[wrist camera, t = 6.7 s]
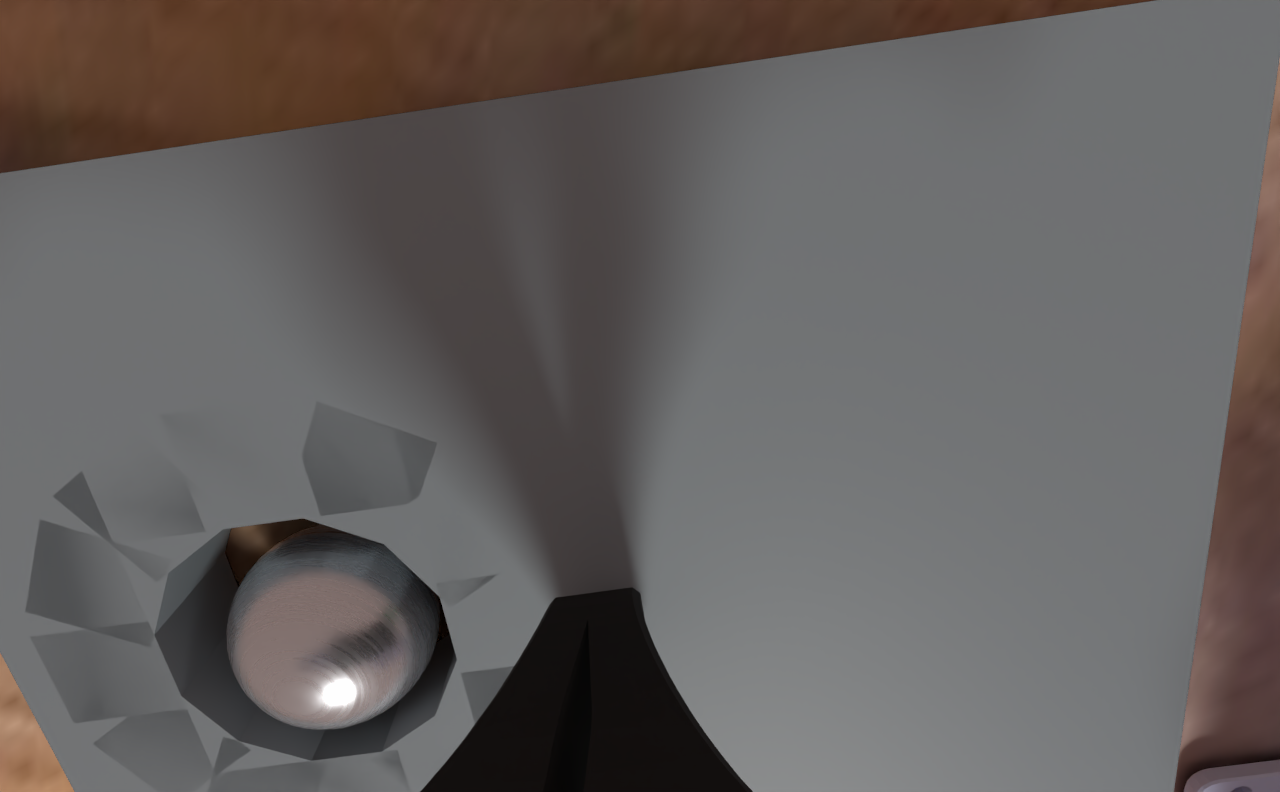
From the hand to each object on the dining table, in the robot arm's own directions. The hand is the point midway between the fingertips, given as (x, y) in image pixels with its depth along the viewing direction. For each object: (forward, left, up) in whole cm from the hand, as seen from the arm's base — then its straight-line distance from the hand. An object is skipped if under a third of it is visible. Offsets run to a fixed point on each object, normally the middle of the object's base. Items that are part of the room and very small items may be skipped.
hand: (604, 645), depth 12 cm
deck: (0, 0, -3) cm, 3 cm away
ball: (+5, 0, -2) cm, 5 cm away
